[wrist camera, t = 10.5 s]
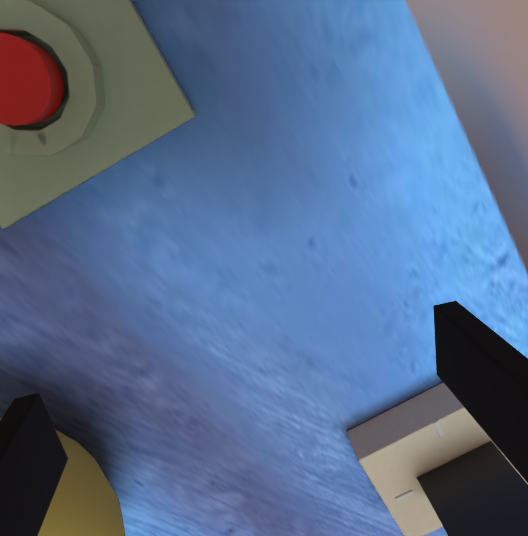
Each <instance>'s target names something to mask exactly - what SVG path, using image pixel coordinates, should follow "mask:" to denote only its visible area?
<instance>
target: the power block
mask: <svg viewBox="0 0 528 536" xmlns="http://www.w3.org/2000/svg"><path fill="white" fill-rule="evenodd" d="M0 32H1V33H7V34H11V35H14V36H17V37H20V38H23V39H26V40H29V41H31V42H33V43H35V44H37V45H39V46H40V47H42V48H43V49H44V50H45V51H46V52H48V54H49V55H50V56H51V57H52V58H53V59H54V61H55V62H56V64H57V66H58V68H59V70H60V72H61V75H62V79H63V86H64V92H63V98H62V102H61V104H60V106H59V108H58V110H57V111H56V112H55V113H54V114H53V115H52V116H51V117H50V118H48V119H47V120H45V121H42V122H39V123H35V124H27V125H17V126H12V125H5V124H1V123H0V227H1V228H2V229H5V228H7V227H8V226H10V225H12V224H13V223H15V222H17V221H18V220H20V219H22V218H24V217H25V216H27V215H29V214H30V213H32V212H34V211H36V210H37V209H39V208H41V207H42V206H44V205H46V204H47V203H49V202H51V201H53V200H54V199H56V198H58V197H59V196H61V195H63V194H65V193H66V192H68V191H70V190H71V189H73V188H75V187H76V186H78V185H80V184H82V183H83V182H85V181H87V180H88V179H90V178H92V177H94V176H95V175H97V174H99V173H100V172H102V171H104V170H105V169H107V168H109V167H111V166H112V165H114V164H116V163H117V162H119V161H121V160H123V159H124V158H126V157H128V156H129V155H131V154H133V153H134V152H136V151H138V150H140V149H141V148H143V147H145V146H146V145H148V144H150V143H152V142H153V141H155V140H157V139H158V138H160V137H162V136H163V135H165V134H167V133H169V132H170V131H172V130H174V129H175V128H177V127H179V126H181V125H182V124H184V123H186V122H187V121H189V120H191V119H192V118H194V117H195V116H196V113H195V111H194V110H193V108H192V106H191V104H190V103H189V101H188V99H187V97H186V96H185V94H184V92H183V90H182V89H181V87H180V85H179V83H178V82H177V80H176V78H175V76H174V74H173V73H172V71H171V69H170V67H169V66H168V64H167V62H166V60H165V59H164V57H163V55H162V53H161V52H160V50H159V48H158V46H157V45H156V43H155V41H154V39H153V38H152V36H151V34H150V32H149V30H148V29H147V27H146V25H145V23H144V22H143V20H142V18H141V16H140V15H139V13H138V11H137V9H136V8H135V6H134V4H133V2H132V1H131V0H0Z"/></svg>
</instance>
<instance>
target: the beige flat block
mask: <svg viewBox="0 0 528 536" xmlns="http://www.w3.org/2000/svg"><path fill="white" fill-rule="evenodd" d="M347 434H348V437H349V439H350V441H351V444H352V446H353V449H354V451H355V454H356V456H357V458H358V461H359V462H360V464H361V466H362V467H363V469H364V471H365V472H366V474H367V476H368V477H369V479H370V480H371V482H372V484H373V485H374V487H375V489H376V490H377V492H378V494H379V495H380V497H381V498H382V500H383V502H384V503H385V505H386V507H387V508H388V510H389V512H390V513H391V515H392V516H393V518H394V520H395V521H396V523H397V525H398V526H399V528H400V530H401V531H402V533H403V534H404V536H424V535H426V534H428V533H430V532H433V531H435V530H437V529H439V528H441V527H443V525H442V523H441V522H440V520H439V518H438V516H437V514H436V512H435V511H434V509H433V507H432V505H431V503H430V502H429V500H428V498H427V496H426V494H425V492H424V491H423V489H422V487H421V485H420V483H419V481H418V480H417V477H419V476H421V475H423V474H425V473H427V472H429V471H431V470H433V469H435V468H437V467H439V466H441V465H443V464H445V463H448V462H450V461H452V460H454V459H456V458H458V457H460V456H462V455H464V454H466V453H468V452H470V451H472V450H474V449H476V448H478V447H480V446H482V445H484V444H486V443H488V442H490V441H492V440H491V439H490V437H489V436H488V435H487V434H486V433H485V431H484V430H483V429H482V428H481V427H480V425H479V424H478V423H477V422H476V421H475V419H474V418H473V417H472V416H471V415H470V413H469V412H468V411H467V410H466V409H465V408H464V406H463V405H462V404H461V403H460V402H459V400H458V399H457V398H456V397H455V396H454V394H453V393H452V392H451V391H450V390H449V388H448V387H447V386H446V385H445V384H444V382H443V383H441V384H439V385H437V386H435V387H433V388H431V389H429V390H427V391H425V392H423V393H421V394H419V395H417V396H415V397H413V398H411V399H409V400H407V401H406V402H404V403H402V404H400V405H398V406H396V407H394V408H392V409H390V410H388V411H386V412H384V413H382V414H380V415H378V416H376V417H374V418H372V419H370V420H368V421H366V422H364V423H362V424H361V425H359V426H357V427H355V428H353V429H351V430H349V431H347ZM492 442H493V441H492ZM493 443H494V442H493ZM494 444H495V443H494ZM495 446H496V445H495ZM496 447H497V446H496ZM497 448H498V447H497ZM498 449H499V448H498ZM499 450H500V449H499ZM500 452H501V451H500ZM501 453H502V452H501ZM502 454H503V453H502ZM503 455H504V454H503ZM504 456H505V455H504ZM505 458H506V457H505ZM506 459H507V458H506ZM507 460H508V459H507ZM508 461H509V460H508ZM509 462H510V461H509ZM510 464H511V463H510ZM511 465H512V464H511ZM512 466H513V465H512ZM513 467H514V466H513ZM514 468H515V467H514ZM515 470H516V469H515ZM516 471H517V470H516ZM517 472H518V471H517ZM518 473H519V472H518ZM519 474H520V473H519ZM520 476H521V475H520ZM521 477H522V476H521ZM522 478H523V477H522ZM523 479H524V478H523ZM524 480H525V479H524ZM525 482H526V481H525ZM526 483H527V482H526ZM527 484H528V483H527Z"/></svg>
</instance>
